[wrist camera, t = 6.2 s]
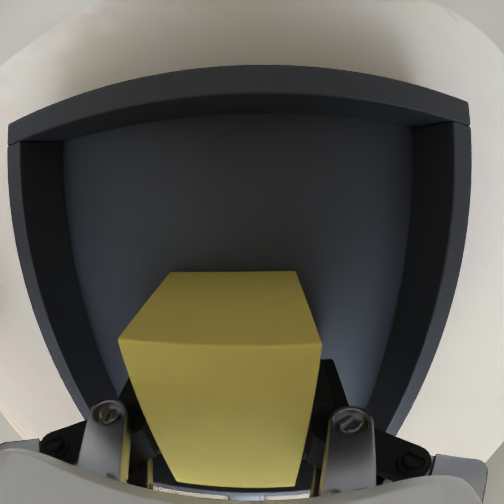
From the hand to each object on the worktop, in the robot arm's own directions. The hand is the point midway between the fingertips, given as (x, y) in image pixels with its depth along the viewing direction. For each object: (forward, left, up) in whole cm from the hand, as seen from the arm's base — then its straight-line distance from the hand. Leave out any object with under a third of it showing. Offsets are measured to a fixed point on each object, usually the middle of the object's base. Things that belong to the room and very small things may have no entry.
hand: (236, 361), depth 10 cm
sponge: (0, 0, 0) cm, 0 cm away
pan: (0, 0, -1) cm, 1 cm away
